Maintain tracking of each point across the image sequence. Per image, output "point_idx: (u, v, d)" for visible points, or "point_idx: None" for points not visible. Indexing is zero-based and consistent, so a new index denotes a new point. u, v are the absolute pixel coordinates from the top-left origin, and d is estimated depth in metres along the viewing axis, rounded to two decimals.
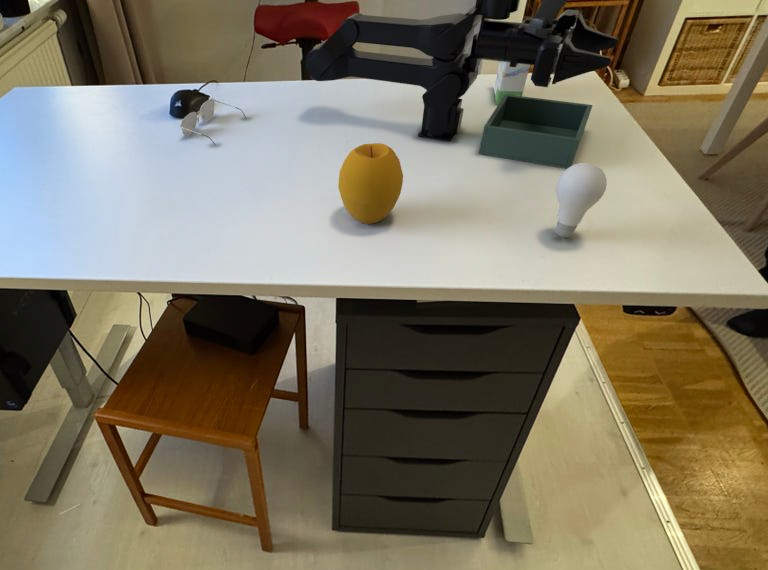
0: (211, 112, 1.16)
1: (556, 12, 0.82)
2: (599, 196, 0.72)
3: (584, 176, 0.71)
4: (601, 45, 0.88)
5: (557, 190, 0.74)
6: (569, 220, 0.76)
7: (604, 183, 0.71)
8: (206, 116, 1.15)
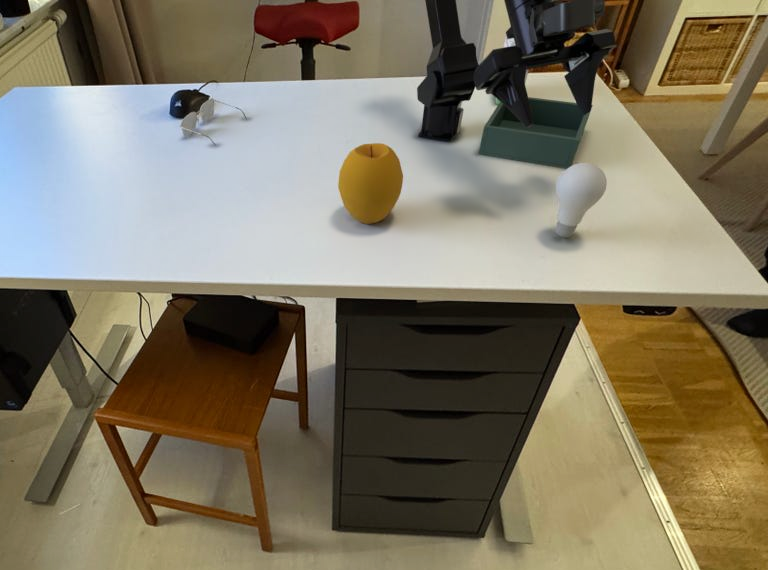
0: (211, 112, 1.16)
1: (551, 31, 0.69)
2: (599, 196, 0.72)
3: (584, 176, 0.71)
4: (580, 100, 0.76)
5: (557, 190, 0.74)
6: (569, 220, 0.76)
7: (604, 183, 0.71)
8: (206, 116, 1.15)
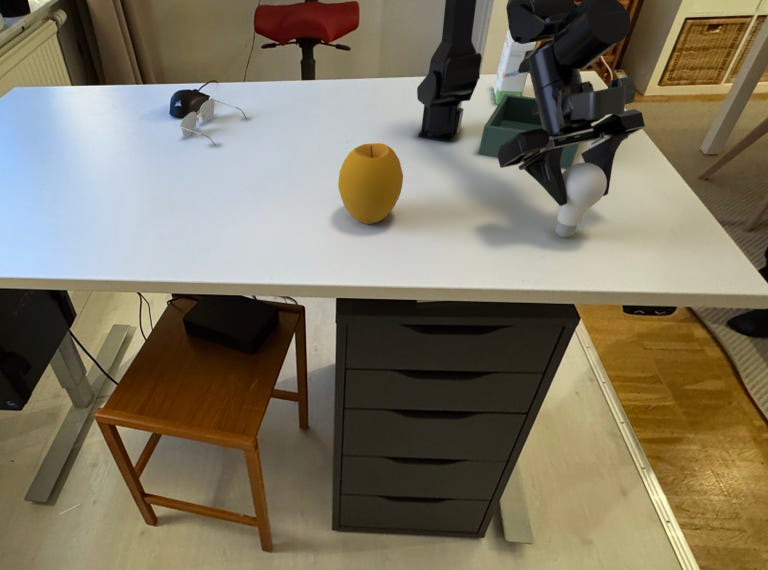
0: (211, 112, 1.16)
1: (579, 117, 0.68)
2: (599, 196, 0.72)
3: (585, 177, 0.71)
4: None
5: None
6: (569, 220, 0.76)
7: (604, 183, 0.71)
8: (206, 116, 1.15)
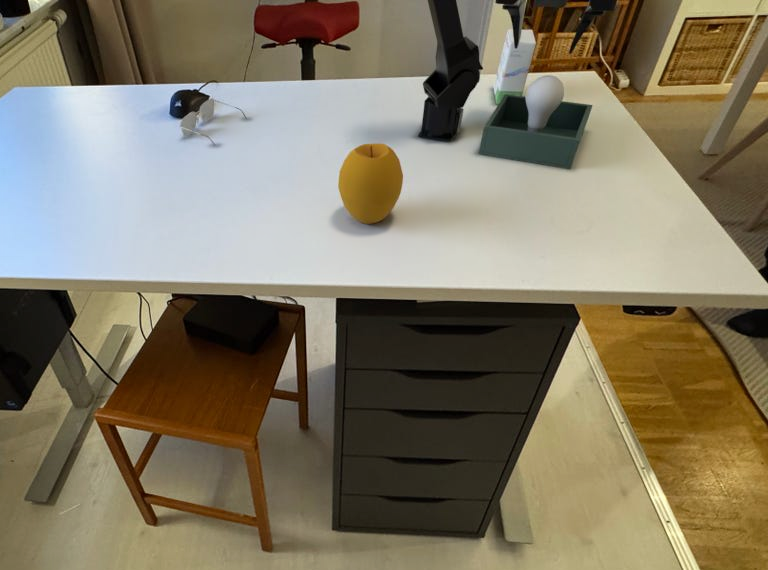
0: (211, 112, 1.16)
1: None
2: (561, 99, 0.93)
3: (550, 85, 0.91)
4: None
5: (528, 100, 0.94)
6: (539, 124, 0.96)
7: (563, 88, 0.92)
8: (206, 116, 1.15)
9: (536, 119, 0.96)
